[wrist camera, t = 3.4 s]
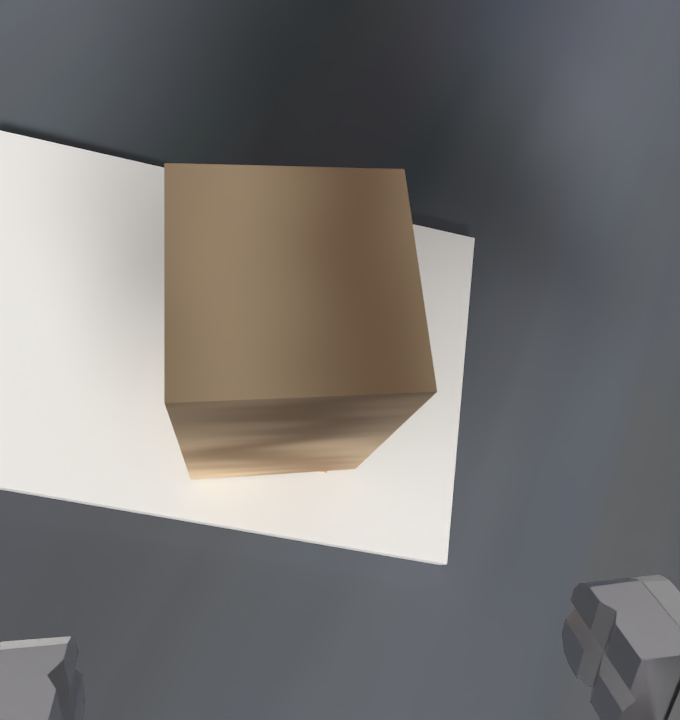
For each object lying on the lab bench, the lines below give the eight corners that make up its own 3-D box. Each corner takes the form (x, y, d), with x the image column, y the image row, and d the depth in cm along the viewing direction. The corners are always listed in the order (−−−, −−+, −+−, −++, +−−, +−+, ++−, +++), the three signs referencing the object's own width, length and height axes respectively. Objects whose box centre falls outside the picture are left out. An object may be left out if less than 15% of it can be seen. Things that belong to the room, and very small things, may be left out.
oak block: (191, 479, 23) (164, 402, 13) (188, 324, 24) (164, 163, 15) (355, 469, 24) (437, 391, 14) (340, 321, 26) (404, 169, 16)
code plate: (-146, 464, 22) (-161, 459, 21) (-6, 140, 27) (-13, 126, 26) (440, 564, 24) (447, 564, 23) (468, 247, 29) (475, 237, 28)
